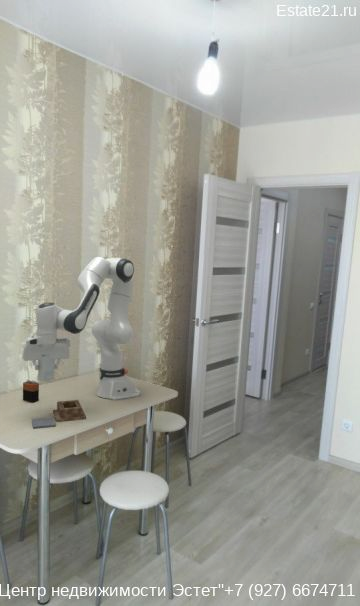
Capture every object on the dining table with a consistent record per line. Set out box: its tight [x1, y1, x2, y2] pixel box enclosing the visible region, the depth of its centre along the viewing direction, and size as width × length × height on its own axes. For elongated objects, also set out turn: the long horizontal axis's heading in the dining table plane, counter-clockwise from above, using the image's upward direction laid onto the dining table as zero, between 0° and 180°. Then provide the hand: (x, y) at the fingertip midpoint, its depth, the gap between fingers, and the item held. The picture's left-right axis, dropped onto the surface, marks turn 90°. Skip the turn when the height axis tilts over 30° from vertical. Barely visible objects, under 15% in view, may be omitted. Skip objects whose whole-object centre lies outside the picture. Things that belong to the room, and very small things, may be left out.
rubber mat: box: [31, 416, 56, 430], centre depth 194 cm, size 9×9×1 cm
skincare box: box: [37, 355, 56, 383], centre depth 204 cm, size 6×4×12 cm
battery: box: [22, 379, 40, 404], centre depth 222 cm, size 4×7×10 cm, turn 64°
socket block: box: [52, 399, 87, 423], centre depth 205 cm, size 13×13×5 cm
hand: (46, 368), depth 204 cm, fingers closed on skincare box, 7 cm apart
